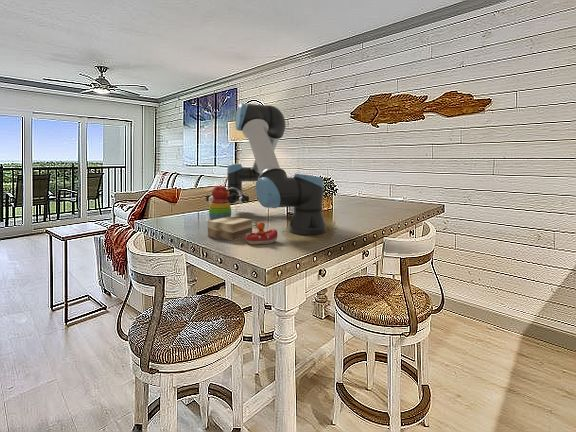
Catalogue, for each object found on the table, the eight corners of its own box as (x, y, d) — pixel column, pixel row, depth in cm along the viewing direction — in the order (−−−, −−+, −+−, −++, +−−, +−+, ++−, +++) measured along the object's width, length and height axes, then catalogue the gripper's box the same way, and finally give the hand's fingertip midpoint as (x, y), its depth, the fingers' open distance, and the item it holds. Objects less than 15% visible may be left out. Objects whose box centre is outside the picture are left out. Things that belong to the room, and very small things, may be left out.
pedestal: (252, 234, 141) (252, 219, 140) (232, 240, 131) (232, 224, 130) (228, 231, 147) (228, 216, 146) (207, 236, 137) (207, 221, 136)
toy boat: (280, 244, 128) (280, 223, 127) (248, 246, 124) (248, 225, 122) (273, 239, 135) (273, 219, 134) (243, 241, 131) (242, 221, 129)
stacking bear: (227, 230, 149) (227, 186, 146) (204, 228, 151) (203, 186, 148) (236, 225, 159) (236, 184, 156) (215, 223, 161) (214, 184, 158)
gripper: (256, 203, 184) (252, 209, 163) (207, 202, 184) (197, 208, 163) (256, 188, 183) (252, 193, 162) (207, 187, 183) (196, 192, 162)
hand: (224, 200), depth 163 cm, fingers open, 13 cm apart
